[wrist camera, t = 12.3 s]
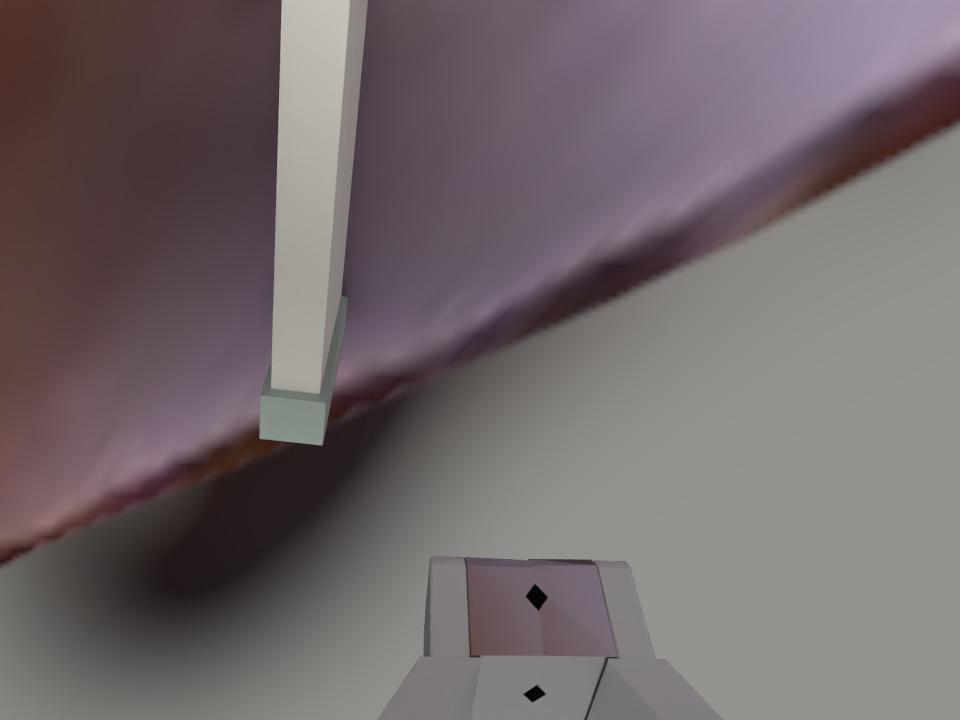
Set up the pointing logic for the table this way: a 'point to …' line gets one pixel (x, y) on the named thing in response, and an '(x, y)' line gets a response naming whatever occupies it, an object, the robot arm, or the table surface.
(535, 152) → the table surface
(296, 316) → the gate
